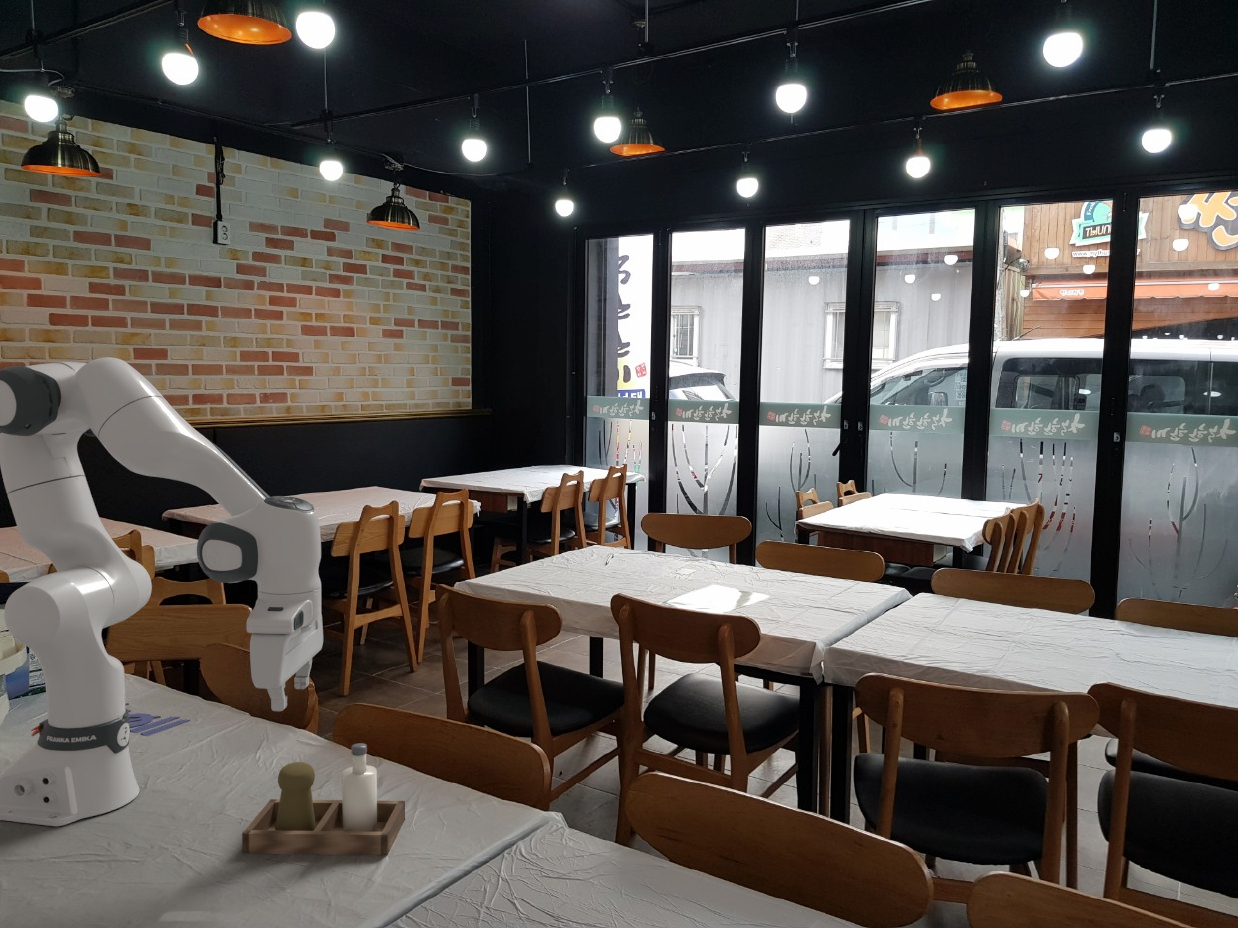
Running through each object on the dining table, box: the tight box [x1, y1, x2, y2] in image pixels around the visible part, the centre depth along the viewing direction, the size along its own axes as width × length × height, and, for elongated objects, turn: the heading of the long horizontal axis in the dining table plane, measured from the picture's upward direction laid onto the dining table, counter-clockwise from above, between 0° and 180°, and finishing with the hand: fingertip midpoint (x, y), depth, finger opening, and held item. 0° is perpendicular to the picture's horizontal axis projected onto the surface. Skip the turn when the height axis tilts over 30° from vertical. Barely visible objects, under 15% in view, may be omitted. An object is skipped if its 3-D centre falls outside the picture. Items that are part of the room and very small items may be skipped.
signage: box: [125, 702, 191, 737], centre depth 190 cm, size 28×1×10 cm
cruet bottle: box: [341, 742, 378, 832], centre depth 138 cm, size 5×5×14 cm
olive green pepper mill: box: [275, 761, 316, 831], centre depth 138 cm, size 6×6×11 cm
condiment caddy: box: [241, 798, 406, 856], centre depth 139 cm, size 21×11×4 cm, turn 90°
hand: (290, 698), depth 137 cm, fingers open, 8 cm apart
